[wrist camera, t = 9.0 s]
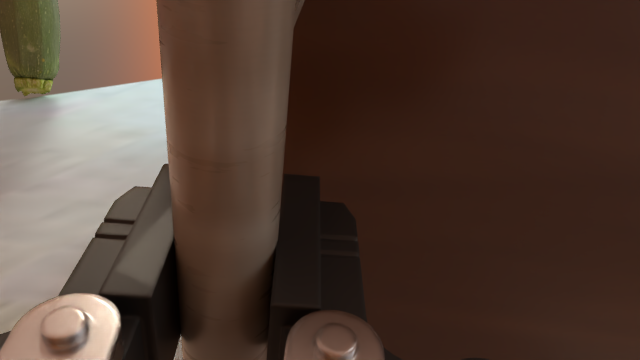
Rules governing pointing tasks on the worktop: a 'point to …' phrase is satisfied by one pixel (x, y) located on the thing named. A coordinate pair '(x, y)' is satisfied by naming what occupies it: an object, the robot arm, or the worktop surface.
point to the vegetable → (31, 42)
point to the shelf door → (413, 167)
